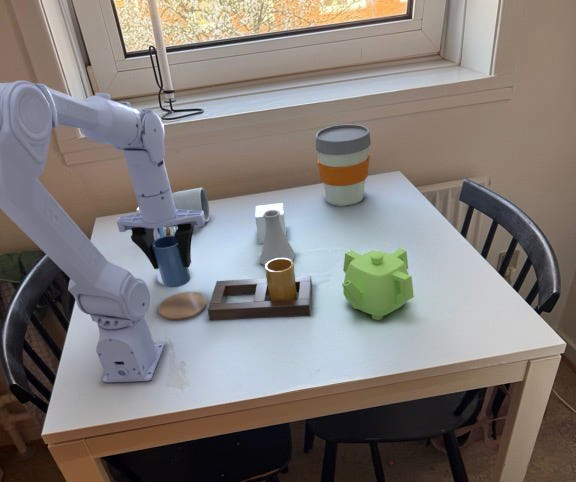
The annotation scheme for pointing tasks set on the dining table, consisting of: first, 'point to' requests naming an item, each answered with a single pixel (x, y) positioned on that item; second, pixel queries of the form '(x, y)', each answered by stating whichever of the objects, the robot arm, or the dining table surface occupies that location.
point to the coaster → (182, 306)
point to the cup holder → (258, 300)
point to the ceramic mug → (192, 201)
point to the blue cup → (170, 261)
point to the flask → (275, 239)
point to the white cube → (262, 223)
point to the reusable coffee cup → (343, 162)
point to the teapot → (377, 281)
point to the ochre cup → (281, 279)
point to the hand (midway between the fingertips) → (173, 265)
